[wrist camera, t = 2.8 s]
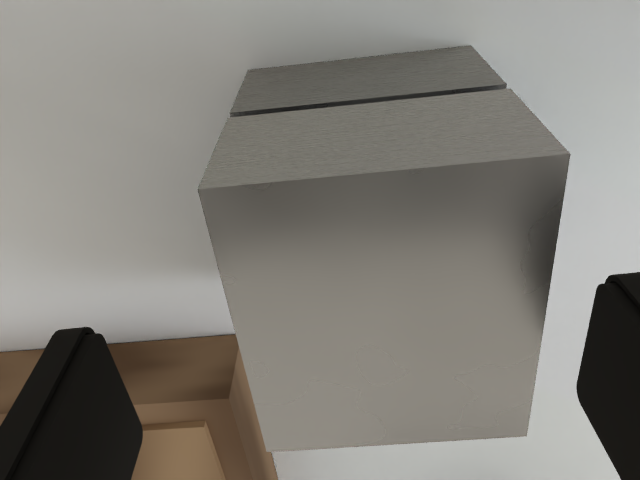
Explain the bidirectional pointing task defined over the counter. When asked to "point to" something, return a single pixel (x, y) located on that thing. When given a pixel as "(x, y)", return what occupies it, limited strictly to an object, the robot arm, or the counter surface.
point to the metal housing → (386, 248)
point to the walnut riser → (178, 407)
